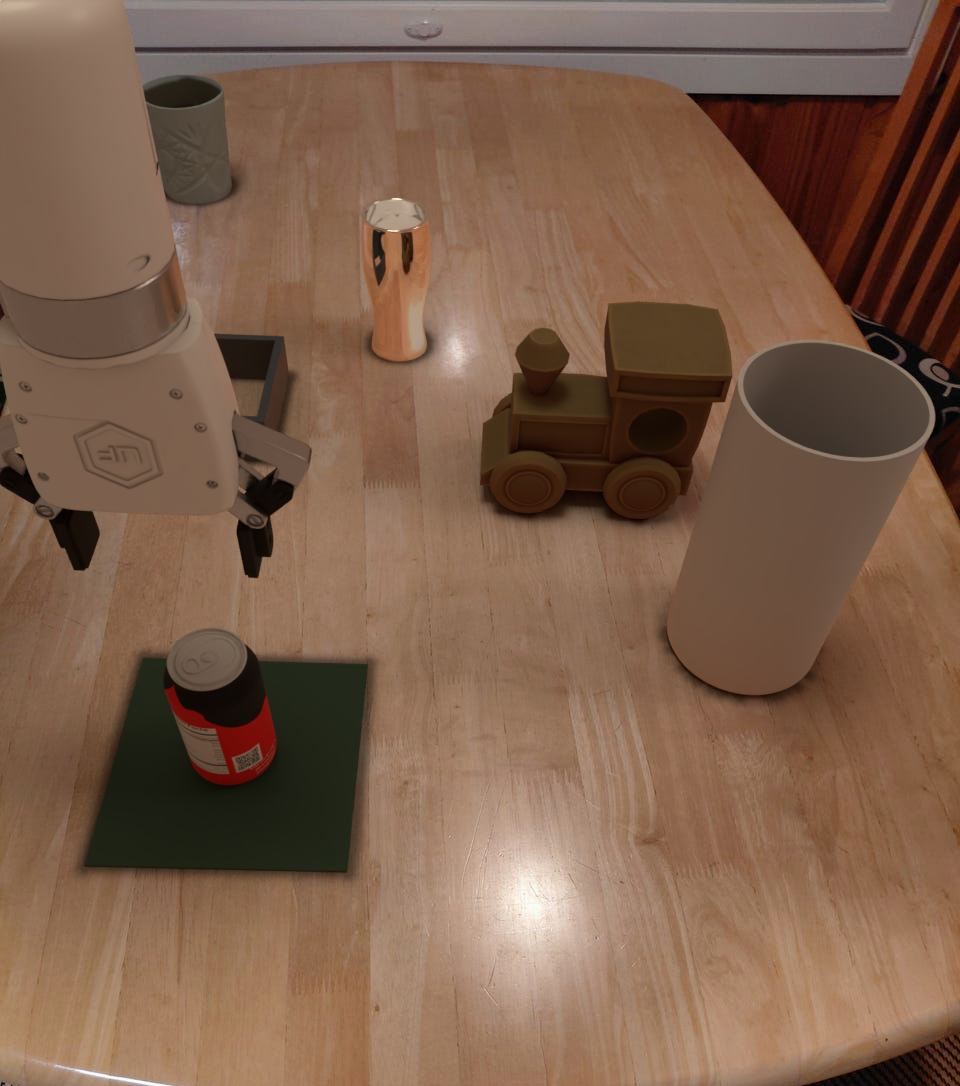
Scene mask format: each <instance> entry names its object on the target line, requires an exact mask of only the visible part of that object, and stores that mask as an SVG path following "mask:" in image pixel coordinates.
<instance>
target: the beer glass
mask: <svg viewBox="0 0 960 1086" xmlns="http://www.w3.org/2000/svg"><path fill="white" fill-rule="evenodd" d="M429 215H430V214H429V210H428V209H427V207H425V205H423V204H422V203H420V202H418V201H416V200H413V199H411V198H405V197H383V198H379V199H376V200H373V201H371V202H369V203H368V204H366V205H365V206H364V207H363V208H362V210H361V234H360V235H361V236H360V237H361V240H360V244H361V245H360V246H361V260H362V261H361V262H362V270H363V275H364V281H365V285H366V288H367V292H368V296H369V301H370V305H371V308H372V313H373V331H372V337H371V349H372V351H373V353H374V354H376V355H377V356H378V357H379V358H380V359H381V358H382V359H384V360H386V361H390V362H409V361H412V360H416V359H417V358H419V357H421V356H423V354H425V352H426V351H427V348H428V340H427V336H426V331H425V325H424V310H425V303H426V298H427V293H428V287H429V282H430V275H431V267H432V265H431V264H432V247H431V246H432V245H431V233H430V232H431V230H430V220H429Z"/></svg>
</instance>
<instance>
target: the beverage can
mask: <svg viewBox="0 0 960 1086" xmlns="http://www.w3.org/2000/svg"><path fill="white" fill-rule="evenodd" d="M166 658H167V665H166V668H165V671H164V677H163V685H164V690H165V692H166V695H167V698H168V700H169V703H170V706H171V709H172V711H173V714H174V717H175V719H176V722H177V725H178V727H179V730H180V733H181V736H182V738H183V741H184V744H185V746H186V749H187V752H188V754H189V757H190V760H191V763H192V765H193V767H194V769H195V770H196V771H197V772H198V773H199V774H200V775H201V776H202V777H203V778H205V779H206V780H208V781H210V782H213V783H216V784H220V785H236V784H241V783H245V782H247V781H250V780H252V779H254V778H255V777H257V776H259V775H260V774H261V773H262V772H264V771H265V770H266V769H267V767H268V766H269V765H270V763H271V762H272V760H273V758H274V755H275V752H276V747H277V739H276V734H275V730H274V725H273V721H272V717H271V712H270V708H269V704H268V699H267V695H266V691H265V686H264V682H263V678H262V673H261V669H260V665H259V661H260V660H259V659H258V656H257V655H256V654H255V652H254V651H253V650H252V648H251V647H250V646H249V645H248V644H246V643H245V642H244V641H243V639H242V638H241V637H240V636H239V635H237V634H236V633H235V632H234V631H231V630H228V629H226V628H221V627H203V628H202V627H201V628H199V629H195V630H193V631H190V632H188V633H186V634H185V635H182V636H181V637H180V638H179V639H178V640H177V641H175V643H174V644H173V645H172V646H171V648H170V649H169V651H168V655H167V657H166Z"/></svg>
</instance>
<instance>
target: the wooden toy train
mask: <svg viewBox="0 0 960 1086" xmlns="http://www.w3.org/2000/svg"><path fill="white" fill-rule="evenodd" d="M603 331H604V333H603V347H604V348H603V350H604V351H603V352H604V360H605V362H604V363H605V372H606V376H604V375H603V376H602V375H595V374H594V375H593V374H587V373H570V372H569V373H568V372H563V371H564V369H565V368H566V366H567V365H568V364H569V360H570V356H571V353H570V352H569V351H568V349H567V347H566V345H565V344H564V343H563V341H562V340H561V337H559V335H558V333H557V332H556V331H555V330H553V329H551V328H548V327H538V328H537V327H536V328H534V329H533V330H532V331H530V332H529V333H528V334H527V335H526V336H525V337H524V338H523V339H522V341H521V342H520V343H519V344H518V345H517V346H516V349H515V351H514V356H515V359H516V362H517V364H518V366H519V368H520V370H521V372H512V373H513V375H512V385H511V392H510V393H508V394H507V395H505V396H504V397H503V398H501V399H500V401H498V403H497V404H496V406H495V407H494V409H493V412H492V416H491V417H490V418H489V419H487V420H486V421H484V422H483V423H482V432H481V433H482V434H481V453H480V455H481V456H480V458H481V459H480V479H479V485H480V486H485V487H490V488H489V489H490V492H491V493H492V495H493V496H494V498H495V500H496V501H497V502H498V503H499V504H500V505H501V506H503V507H504V508H505V509H508V510H510V511H512V512H516V513H521V514H536V513H540V512H543V511H546V510H548V509H551V508H552V507H553V506H555V505H557V503H558V502H559V501H560V500H561V499H562V497H563V496H564V494H565V492H566V491H584V492H602V495H603V498H604V501H605V502H606V505H608V507H609V508H610V509H611V510H612V511H614V512H615V513H616V514H618V515H620V516H622V517H624V518H628V519H634V520H641V519H643V520H644V519H650V518H653V517H656V516H659V515H661V514H662V513H665V512H666V511H668V510H669V509H670V508H671V507H672V506H673V504H675V502H676V501H677V498H678V497H679V496H681V497H683V496H684V497H686V496H687V494H688V490H689V487H690V484H691V480H692V477H693V473H694V465H693V458H694V456H695V454H696V452H697V451H698V449H699V446H700V443H701V441H702V438H703V435H704V432H705V430H706V426H707V424H708V422H709V421H708V420H709V417H710V414H711V411H712V407H713V404H714V403H715V404H717V403H726V400H727V396H728V393H729V390H730V386H731V383H732V379H733V377H734V376H733V363H732V362H733V361H732V352H731V347H730V342H729V338H728V334H727V329H726V325H725V323H724V321H723V318H722V315H721V313H720V311H719V309H718V308H714V307H707V306H703V305H695V304H689V303H677V302H676V303H675V302H655V301H638V300H637V301H626V302H609V303H608V304H607V311H606V318H605V324H604V330H603Z"/></svg>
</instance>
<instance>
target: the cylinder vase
mask: <svg viewBox="0 0 960 1086" xmlns="http://www.w3.org/2000/svg"><path fill="white" fill-rule="evenodd" d="M935 423H936V410H935V406H934V404H933V401H932V399H931V397H930V395H929V394H928V392H927V390H926V389H925V388H924V386H923V385H922V384H921V383H920V382H919V381H918V380H917V379H916V378H915V377H914V376H913V375H912V374H910V373H909V372H908V371H907V370H905V369H904V368H903V367H901V366H900V365H898V364H896V363H895V362H894V361H892V360H890V359H888V358H886V357H885V356H882V355H879V354H878V353H875V352H873V351H870V350H868V349H865V348H862V347H858V346H856V345H852V344H847V343H843V342H839V341H833V340H824V339H795V340H787V341H783V342H778V343H775V344H772V345H769V346H766V347H764V348H762V349H760V350H759V351H757V352H755V353H754V354H752V355H751V356H750V357H749V358H748V359H747V360H746V361H745V362H744V364H743V365H742V367H741V369H740V371H739V373H738V377H737V379H736V383H735V387H734V391H733V394H732V397H731V400H730V404H729V407H728V410H727V413H726V416H725V421H724V423H723V426H722V427H723V428H722V431H721V434H720V437H719V441H718V443H717V447H716V451H715V454H714V456H713V457H714V458H713V461H712V464H711V467H710V471H709V474H708V478H707V481H706V484H705V487H704V491H703V495H702V498H701V501H700V504H699V507H698V511H697V514H696V518H695V521H694V524H693V528H692V532H691V534H690V539H689V541H688V545H687V549H686V551H685V554H684V558H683V562H682V565H681V568H680V571H679V575H678V578H677V581H676V585H675V589H674V592H673V595H672V598H671V602H670V605H669V609H668V612H667V616H666V634H667V638H668V642H669V643H670V646H671V649H672V650H673V652H674V654H675V655H676V657H677V658H678V660H679V662H681V664H682V665H683V666H684V667H685V668H686V669H687V670H688V671H689V672H691V674H693V675H694V676H696V677H697V678H698V679H700V680H702V681H703V682H705V683H707V684H708V685H711V686H713V687H715V688H717V689H720V690H723V691H726V692H729V693H732V694H739V695H745V696H763V695H770V694H775V693H779V692H781V691H785V690H787V689H789V688H790V687H792V686H794V685H796V684H797V683H798V682H800V681H801V680H803V678H804V677H805V676H806V675H807V674H808V673H809V671H810V670H811V668H812V666H813V665H814V663H815V661H816V659H817V657H818V655H819V653H820V652H821V649H822V647H823V646H824V643H825V641H826V639H827V638H828V636H829V635H830V632H831V629H832V628H833V626H834V624H835V622H836V621H837V618H838V616H839V615H840V612H841V610H842V608H843V606H844V605H845V602H846V601H847V599H848V597H849V595H850V593H851V591H852V589H853V587H854V585H855V583H856V582H857V579H858V577H859V576H860V573H861V572H862V569H863V568H864V565H865V563H866V562H867V560H868V557H869V555H870V554H871V552H872V550H873V548H874V545H875V544H876V542H877V540H878V538H879V536H880V535H881V532H882V530H883V528H884V526H885V524H886V522H887V520H888V519H889V517H890V515H891V513H892V511H893V508H894V507H895V505H896V503H897V501H898V499H899V497H900V496H901V493H902V491H903V489H904V487H905V485H906V484H907V481H908V479H909V477H910V475H911V474H912V471H913V470H914V468H915V466H916V464H917V462H918V461H919V458H920V457H921V455H922V452H923V450H924V448H925V446H926V444H927V442H928V440H929V439H930V436H931V435H932V433H933V430H934V428H935Z"/></svg>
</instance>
